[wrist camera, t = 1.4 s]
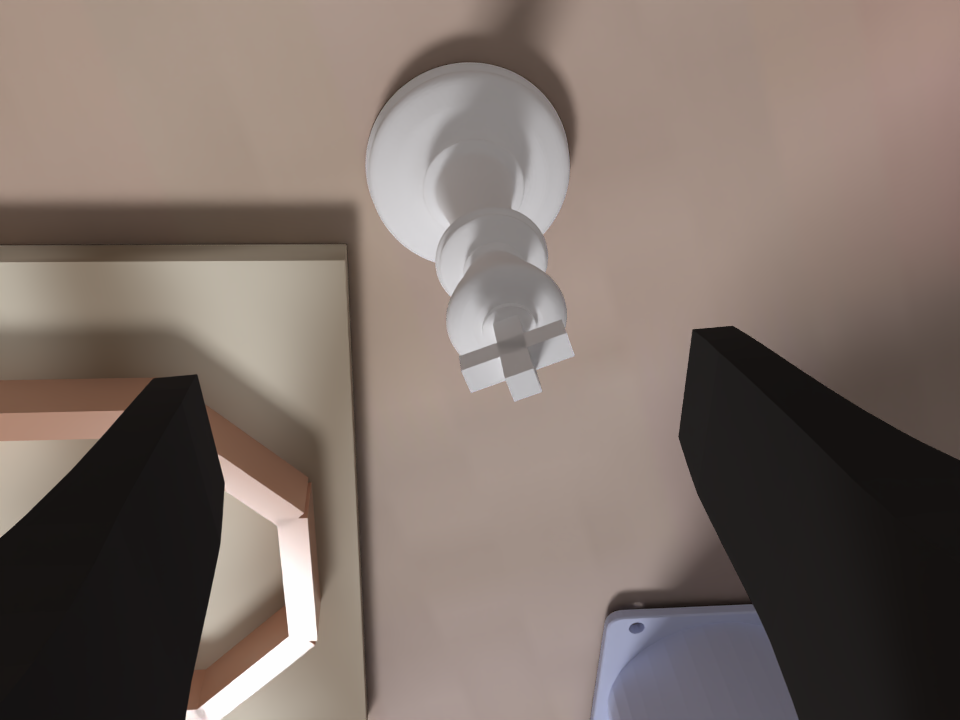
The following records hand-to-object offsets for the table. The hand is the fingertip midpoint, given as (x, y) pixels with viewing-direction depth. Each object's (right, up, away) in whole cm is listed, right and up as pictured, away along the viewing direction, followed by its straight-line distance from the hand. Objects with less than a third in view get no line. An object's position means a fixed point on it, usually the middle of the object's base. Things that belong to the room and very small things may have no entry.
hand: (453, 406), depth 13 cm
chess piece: (0, +6, +9) cm, 10 cm away
